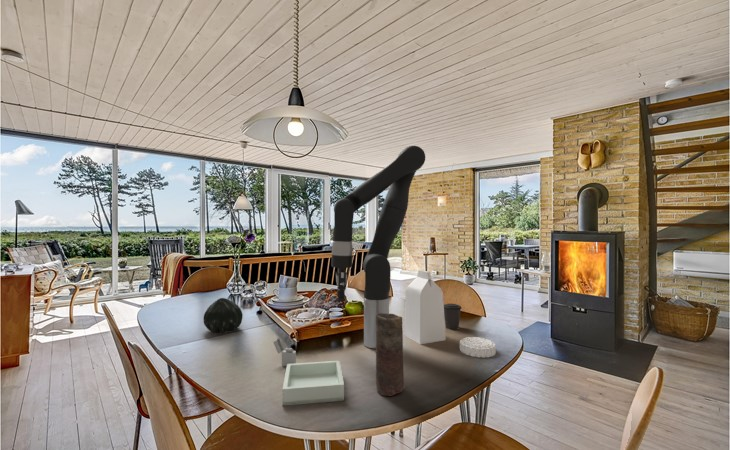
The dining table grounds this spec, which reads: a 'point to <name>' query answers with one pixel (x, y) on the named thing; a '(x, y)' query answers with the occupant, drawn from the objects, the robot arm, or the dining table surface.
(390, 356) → the candle
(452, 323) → the coffee cup
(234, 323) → the squash
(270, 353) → the dining table surface
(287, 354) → the lighter
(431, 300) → the milk
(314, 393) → the bin
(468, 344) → the mooncake
